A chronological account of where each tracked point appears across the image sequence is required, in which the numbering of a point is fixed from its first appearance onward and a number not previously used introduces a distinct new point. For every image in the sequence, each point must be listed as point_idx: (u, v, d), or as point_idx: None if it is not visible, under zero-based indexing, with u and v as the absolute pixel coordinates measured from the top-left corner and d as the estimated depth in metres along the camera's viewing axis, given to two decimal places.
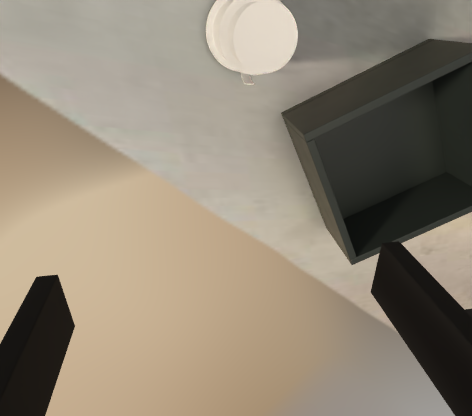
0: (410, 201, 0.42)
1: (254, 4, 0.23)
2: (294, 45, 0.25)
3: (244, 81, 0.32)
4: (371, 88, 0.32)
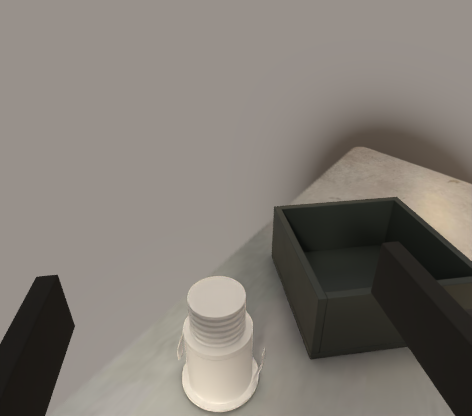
0: None
1: (188, 297, 0.28)
2: (230, 279, 0.29)
3: (261, 365, 0.30)
4: (291, 267, 0.38)
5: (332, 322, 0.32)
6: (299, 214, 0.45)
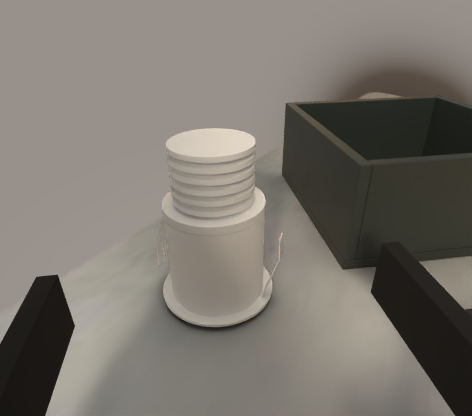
0: None
1: (167, 143, 0.18)
2: (231, 130, 0.20)
3: (278, 259, 0.20)
4: (312, 160, 0.29)
5: (377, 208, 0.22)
6: (318, 113, 0.35)
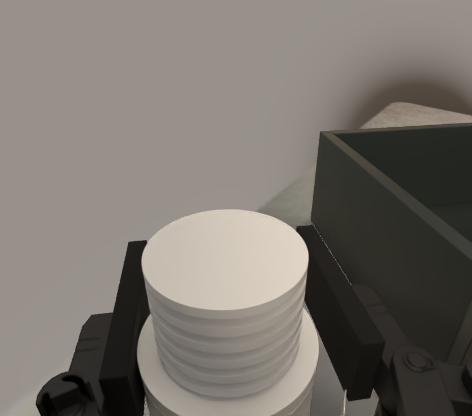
0: None
1: (145, 254, 0.10)
2: (259, 215, 0.12)
3: None
4: (368, 222, 0.20)
5: None
6: (361, 144, 0.27)
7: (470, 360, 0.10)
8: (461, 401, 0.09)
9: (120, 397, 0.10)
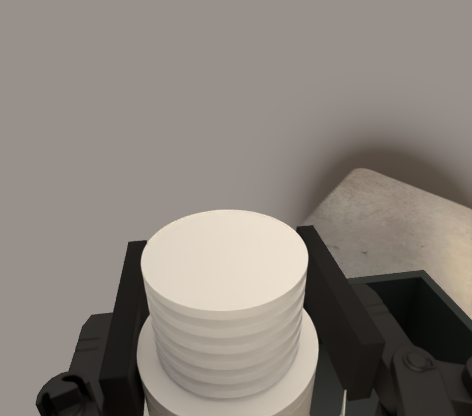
0: None
1: (145, 255, 0.10)
2: (259, 215, 0.11)
3: None
4: None
5: None
6: None
7: (470, 360, 0.10)
8: (461, 401, 0.09)
9: (120, 397, 0.10)
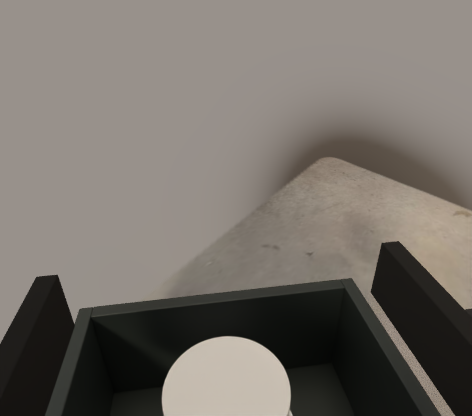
0: None
1: (164, 393, 0.13)
2: (254, 344, 0.14)
3: None
4: None
5: None
6: (136, 324, 0.21)
7: None
8: None
9: None
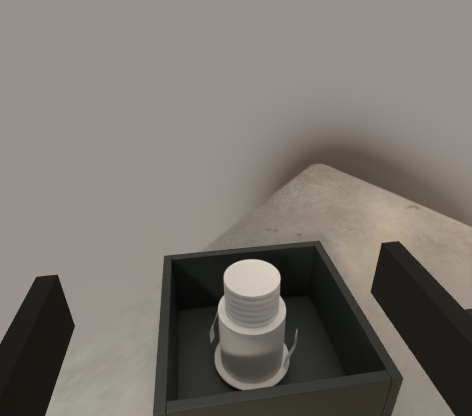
0: (330, 319, 0.34)
1: (224, 278, 0.28)
2: (263, 262, 0.30)
3: (294, 346, 0.30)
4: None
5: None
6: (195, 265, 0.36)
7: None
8: None
9: None
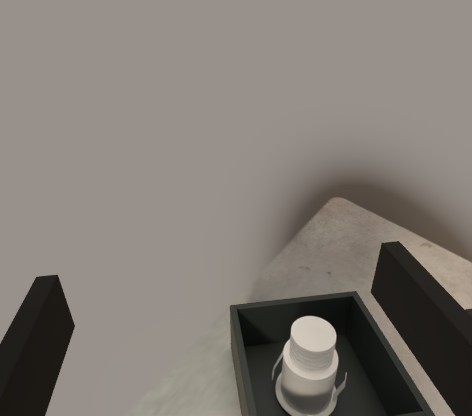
0: (368, 360, 0.42)
1: (292, 334, 0.36)
2: (320, 318, 0.38)
3: (344, 386, 0.38)
4: (240, 383, 0.38)
5: None
6: (255, 312, 0.44)
7: None
8: None
9: None
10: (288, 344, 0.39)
